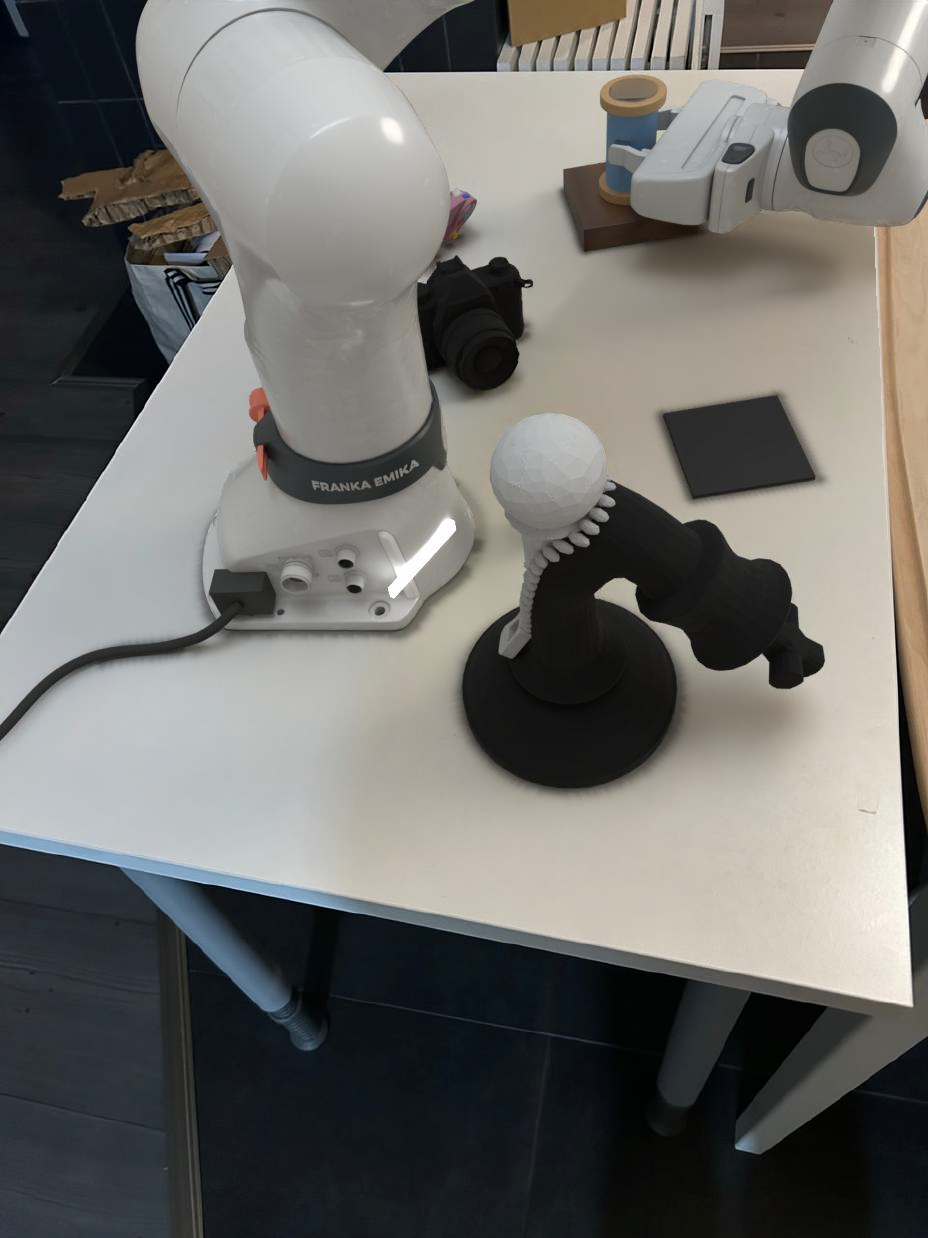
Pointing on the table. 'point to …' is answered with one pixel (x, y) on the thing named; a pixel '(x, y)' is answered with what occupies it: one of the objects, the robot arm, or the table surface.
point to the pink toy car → (458, 212)
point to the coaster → (737, 447)
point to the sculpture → (609, 614)
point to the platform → (609, 214)
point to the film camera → (473, 320)
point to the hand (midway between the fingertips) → (622, 135)
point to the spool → (629, 126)
